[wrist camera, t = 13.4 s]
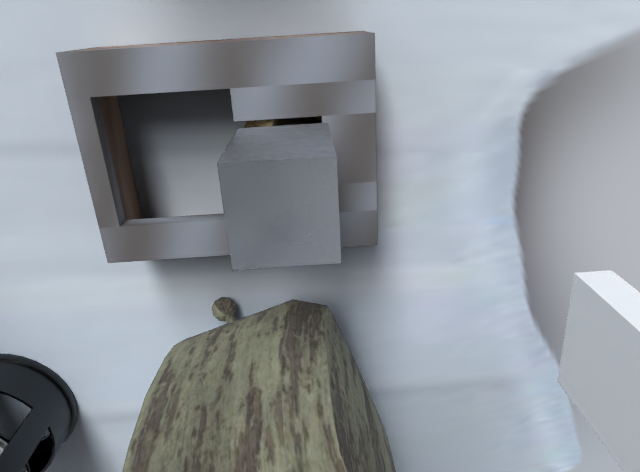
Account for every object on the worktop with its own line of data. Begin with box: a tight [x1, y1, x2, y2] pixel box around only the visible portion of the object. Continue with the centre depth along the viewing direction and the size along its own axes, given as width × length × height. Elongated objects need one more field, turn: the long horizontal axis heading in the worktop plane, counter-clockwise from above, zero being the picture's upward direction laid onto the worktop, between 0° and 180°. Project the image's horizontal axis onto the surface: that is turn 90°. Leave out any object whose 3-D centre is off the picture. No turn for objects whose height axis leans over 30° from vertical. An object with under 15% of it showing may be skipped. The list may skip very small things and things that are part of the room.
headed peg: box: [217, 116, 341, 270], centre depth 24 cm, size 5×5×14 cm
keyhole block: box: [56, 31, 377, 263], centre depth 28 cm, size 15×11×5 cm
